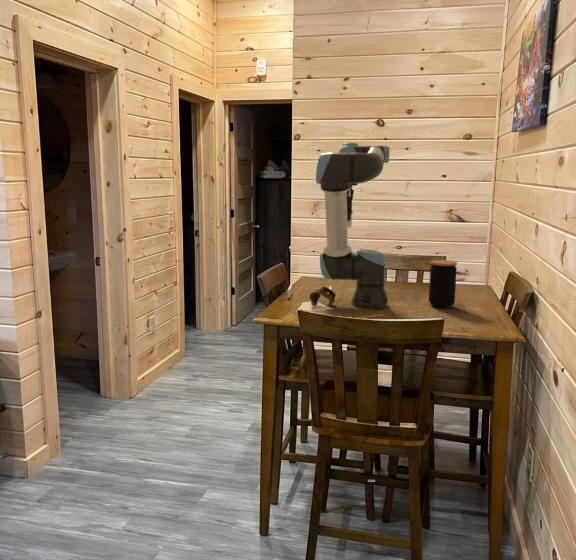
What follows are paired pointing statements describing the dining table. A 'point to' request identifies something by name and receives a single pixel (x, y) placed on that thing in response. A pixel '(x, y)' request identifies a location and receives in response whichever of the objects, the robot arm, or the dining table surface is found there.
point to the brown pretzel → (291, 290)
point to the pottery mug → (322, 290)
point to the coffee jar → (442, 283)
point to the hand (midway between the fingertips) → (348, 227)
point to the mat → (314, 306)
